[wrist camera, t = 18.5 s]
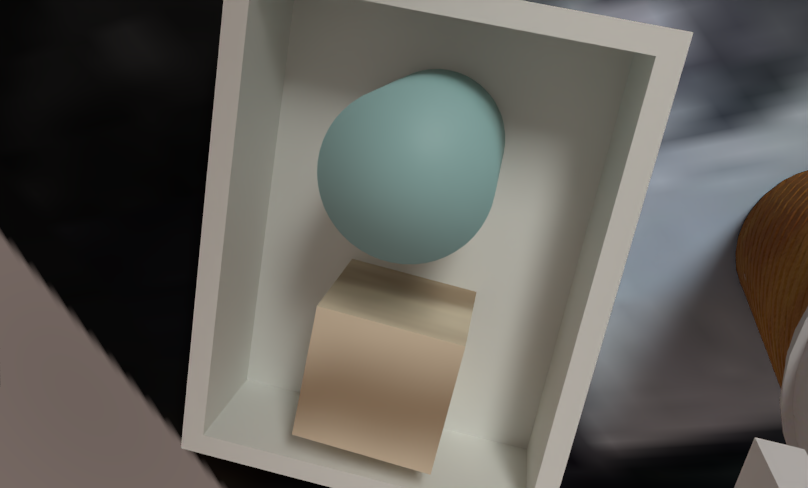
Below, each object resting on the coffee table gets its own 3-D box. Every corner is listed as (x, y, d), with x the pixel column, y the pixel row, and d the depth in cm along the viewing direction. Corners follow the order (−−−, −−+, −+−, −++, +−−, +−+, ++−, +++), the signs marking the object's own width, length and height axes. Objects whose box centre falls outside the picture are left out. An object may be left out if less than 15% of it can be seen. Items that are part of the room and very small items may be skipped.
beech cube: (352, 258, 29) (316, 305, 24) (476, 291, 28) (465, 346, 24) (329, 369, 30) (292, 434, 26) (446, 402, 30) (430, 474, 25)
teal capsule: (379, 57, 26) (328, 70, 20) (518, 82, 26) (513, 104, 19) (360, 191, 28) (307, 245, 21) (490, 217, 27) (477, 280, 21)
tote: (282, -41, 26) (228, -55, 22) (663, 30, 25) (693, 32, 20) (232, 384, 32) (180, 448, 27) (541, 462, 31) (543, 543, 26)
